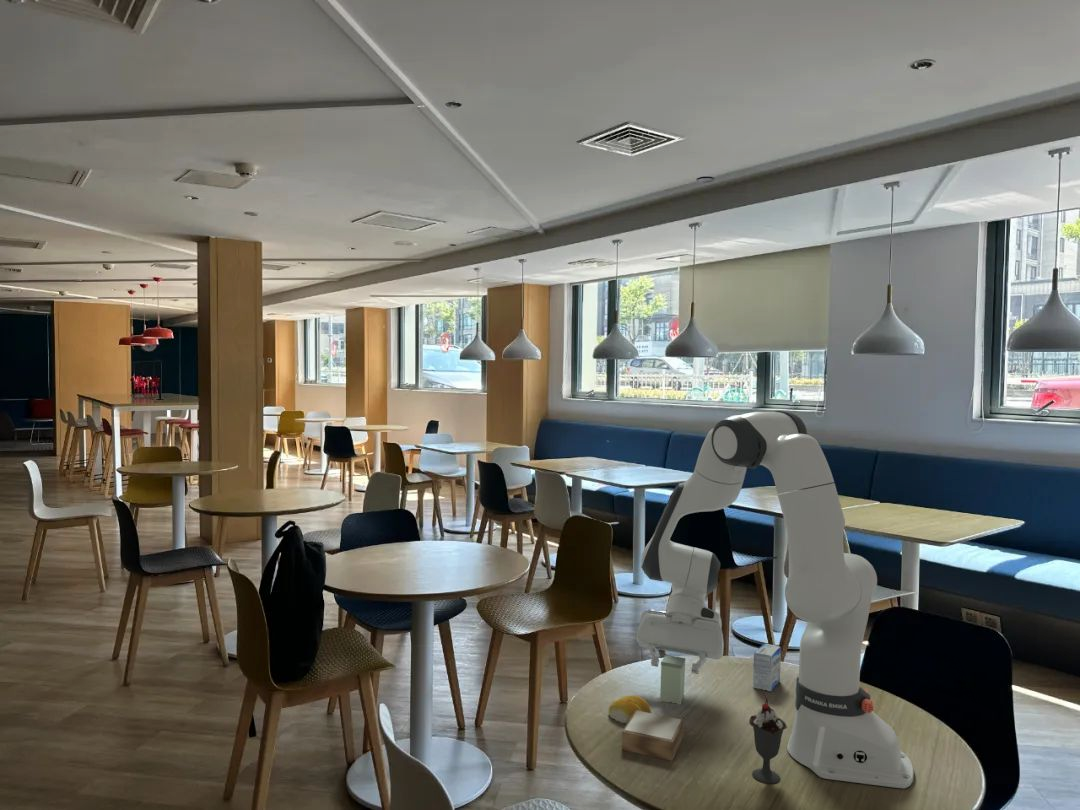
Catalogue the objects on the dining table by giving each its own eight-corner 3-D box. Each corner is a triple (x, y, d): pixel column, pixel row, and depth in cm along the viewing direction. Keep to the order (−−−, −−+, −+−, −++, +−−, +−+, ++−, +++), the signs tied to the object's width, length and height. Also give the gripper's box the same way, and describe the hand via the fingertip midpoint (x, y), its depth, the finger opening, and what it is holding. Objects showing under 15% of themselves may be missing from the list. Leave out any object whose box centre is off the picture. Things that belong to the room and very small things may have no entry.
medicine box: (771, 692, 172) (772, 656, 172) (752, 687, 174) (753, 652, 174) (780, 681, 179) (781, 646, 178) (761, 677, 181) (763, 642, 181)
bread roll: (657, 715, 159) (657, 697, 159) (632, 729, 153) (633, 710, 153) (626, 703, 165) (627, 685, 165) (601, 715, 158) (602, 697, 158)
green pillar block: (684, 696, 168) (685, 658, 168) (680, 704, 164) (681, 665, 164) (664, 693, 170) (665, 654, 170) (659, 701, 166) (661, 661, 166)
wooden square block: (682, 739, 149) (683, 719, 149) (672, 762, 140) (672, 741, 140) (635, 729, 153) (635, 709, 153) (621, 751, 144) (622, 730, 144)
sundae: (758, 762, 140) (761, 685, 139) (791, 777, 135) (794, 697, 135) (740, 775, 136) (742, 695, 135) (772, 790, 131) (776, 708, 130)
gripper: (640, 602, 179) (628, 655, 170) (725, 614, 171) (717, 670, 162) (644, 614, 183) (633, 667, 175) (728, 627, 175) (720, 683, 167)
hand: (674, 669), depth 168 cm, fingers open, 8 cm apart
